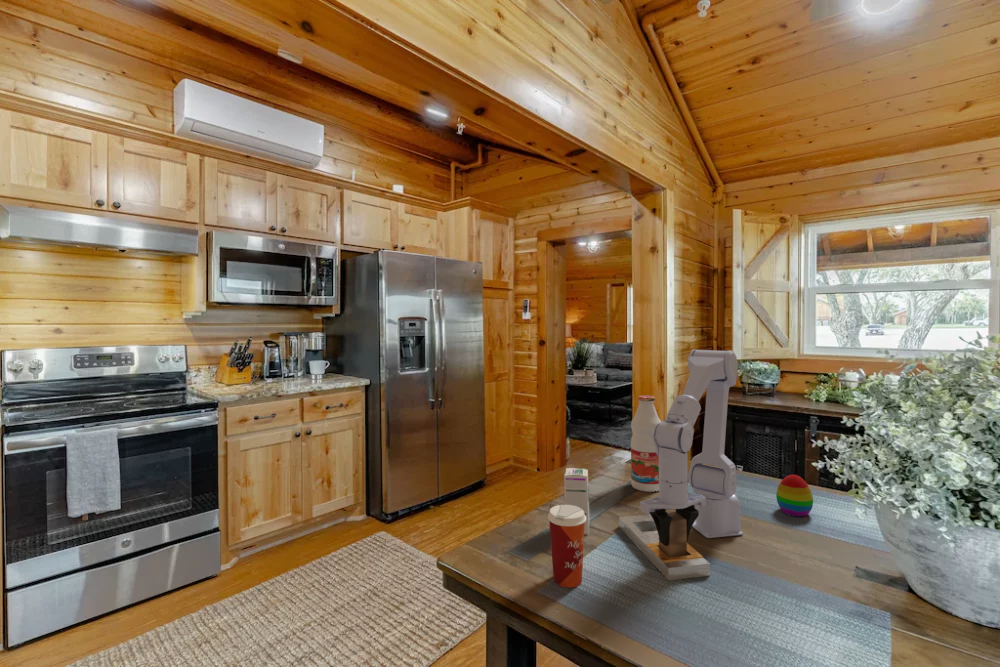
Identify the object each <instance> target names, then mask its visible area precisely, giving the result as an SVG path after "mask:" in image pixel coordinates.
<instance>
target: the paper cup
mask: <svg viewBox="0 0 1000 667" xmlns="http://www.w3.org/2000/svg"><path fill="white" fill-rule="evenodd" d="M547 520H548V521H549V532H550V533H549V534H550V547H551V548H550V549H551V562H552V574H553V581H554V582H555V584H556V585H557V586H559V587H562V588H568V589H572V588H577V587H578V586H580V585H581V584H582V581H583V580H582V579H583V569H584V568H583V566H584V546H585V544H584V543H585V534H584V527H585V521H586V516H585V515H584V511H583V510H582V509H581V508H579V507H577V506H573V505H565V504H557V505H555V506H552V507H551V508H550V510H549V512H548V514H547Z"/></svg>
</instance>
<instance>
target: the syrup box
mask: <svg viewBox="0 0 1000 667" xmlns="http://www.w3.org/2000/svg"><path fill="white" fill-rule="evenodd" d="M563 474H564V475H563V481H564V482H563V484H564V488H563V490H564V491H563V492H564V505H573V506H577V507H579V508H581V509H582V510H583V511H584V515H585V516H586V521H585V527H584V535H587V536H588V535H589V534H590V494H589V491H590V490H589V489H590V488H589V470H588V468H582V467H569V468H568V467H566V468H565V471H564V473H563Z"/></svg>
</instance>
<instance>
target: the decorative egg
mask: <svg viewBox="0 0 1000 667" xmlns="http://www.w3.org/2000/svg"><path fill="white" fill-rule="evenodd" d="M775 497H776V503H777V504H778V506H779V508H780V510H781V511H782V513H784V514H786V515H788V514H789V516H791V515H793V516H792V517H797V516H803V517H806V516H808V515H809V514H810V512H812V510H813V504H814V496H813V493H812V490H811V488H810V486H809V485H808V483H807V482H806V481H805V480H804V479H803V478H802V477H801V476H799V475H797V474H788V475H787V476H785V477H784V478H783V479H782V480H781V481H780V482H779V483H778V485H777V489H776V496H775Z"/></svg>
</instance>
